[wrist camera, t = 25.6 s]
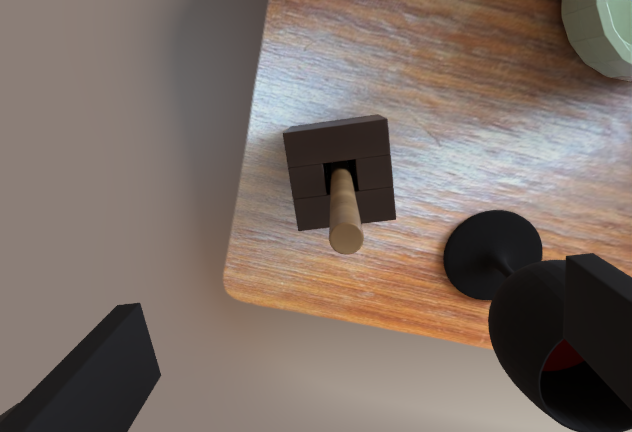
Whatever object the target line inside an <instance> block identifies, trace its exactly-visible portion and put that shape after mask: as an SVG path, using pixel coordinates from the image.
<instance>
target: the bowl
mask: <svg viewBox="0 0 632 432" xmlns="http://www.w3.org/2000/svg"><path fill="white" fill-rule="evenodd" d="M561 16H562V20H563V23H564V26H565V30H566V33H567V37H568V40H569V42H570V44H571V46H572V47H573V48H574V50H575V51H576V52H577V54H578V55H579V56H580V58H581V59H582V60H583V62H584V63H585V64H587V65H588V66H590V67H591V68H593V69H595V70H596V71H598V72H600V73H601V74H603V75H605V76H606V77H609V78H615V79H620V80H625V81H631V82H632V0H562V9H561Z"/></svg>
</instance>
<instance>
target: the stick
mask: <svg viewBox="0 0 632 432" xmlns="http://www.w3.org/2000/svg"><path fill="white" fill-rule="evenodd" d="M329 241H330V244H331V246H332V248H333V249H334V250H335V251H337V252H338V253H341V254H352V253H355V252H356V251H358V250H359V249H360V248H361V246H362V244H363V241H364V235H363V230H362V225H361V221H360V216H359V211H358V206H357V201H356V197H355V192H354V187H353V182H352V178H351V173H350V168H349V164H348V162H347V160H345V161H338V162H332V165H331V195H330V228H329Z"/></svg>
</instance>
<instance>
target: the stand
mask: <svg viewBox="0 0 632 432" xmlns="http://www.w3.org/2000/svg"><path fill="white" fill-rule="evenodd" d="M283 138H284V144H285V151H286V157H287V163H288V170H289V176H290V182H291V188H292V195H293V199H294V200H293V201H294V207H295V214H296V220H297V226H298V231H303V230H312V229H320V228H329V227H330V195H331V179H328V176H327V168H326V163H330V162H338V161H345V160H353V163H354V172H355V176H351V178H352V182H353V187H354V192H355V197H356V201H357V206H358V211H359V216H360V221H361V224H362V223H371V222H379V221H388V220H395V219H396V211H395V200H394V189H393V177H392V166H391V155H390V143H389V131H388V120H387V119H386V118H384V117H382V116H380V115H371V116H364V117H357V118H349V119H342V120H335V121H328V122H321V123H313V124H306V125H299V126H292V127H290V128H289V129H288V130H286V131H285V132H284V133H283Z"/></svg>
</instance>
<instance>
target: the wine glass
mask: <svg viewBox="0 0 632 432" xmlns="http://www.w3.org/2000/svg"><path fill="white" fill-rule="evenodd" d="M541 260H542V243H541V239H540V236H539V234H538V232H537V231H536V229H535V228H534V226H533V225H532V224H531V223H530V222H529V221H527V220H526V219H525V218H523V217H521V216H519V215H518V214H515V213H512V212H509V211H503V210H492V211H485V212H482V213H479V214H476V215H474V216H472V217H470V218H468V219H467V220H465V221H464V222H463V223H461V224H460V225H459V226H458V227H457V228H456V229H455V230H454V232H453V233H452V234H451V236H450V238H449V239H448V242H447V244H446V247H445V251H444V267H445V271H446V274H447V276H448V278H449V280H450V281H451V283H452V284H453V285H454V286H455V287H456V288H457V289H458V290H459V291H460V292H462V293H463V294H465V295H467V296H469V297H472V298H475V299H479V300H492V302H491V305H490V309H489V317H488V324H489V334H490V338H491V342H492V346H493V349H494V351H495V353H496V356H497V358H498V360H499V362H500V364H501V365H502V367H503V369H504V370H505V372H506V373H507V374H508V376H509V377H510V378H511V380H512V381H513V382H514V384H515V385H516V386H517V387H518V388H519V389H520V390H521V391H522V392H523V393H524V394H525V395H526V396H527V397H528V398H529V399H530V400H531V401H532V402H533V403H534V404H535V405H536V406H537V407H539V408H540V409H541V410H542V411H543V412H545V413H546V414H547V415H549V416H550V417H551V418H552V419H554V420H555V421H557V422H558V423H560V424H561V425H563V426H564V427H567V428H569V429H571V430H574V431H577V432H623V431H627V430H630V429H632V410H631V409H630V408H629V407H628V406H627V405H626V404H625V403H624V402H623V401H622V400H621V399H620V398H619V397H618V395H617V394H616V393H615V392H614V391H613V390H612V389H611V388H610V387H609V386H608V385H607V384H606V383H605V382H604V380H603V379H602V378H601V377H600V376H599V375H598V374H597V373H596V372H595V371H594V370H593V369H592V368H591V366H590V365H589V364H588V363H587V362H586V361H585V360H584V359H583V358H582V357H581V356H580V355H579V354H578V353H577V351H576V350H575V349H574V348H573V347H572V346H571V345H570V344H569V343H568V342H567V341H566V340H565V339H564V338H563V324H564V297H565V269H566V260H548V261H541Z"/></svg>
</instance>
